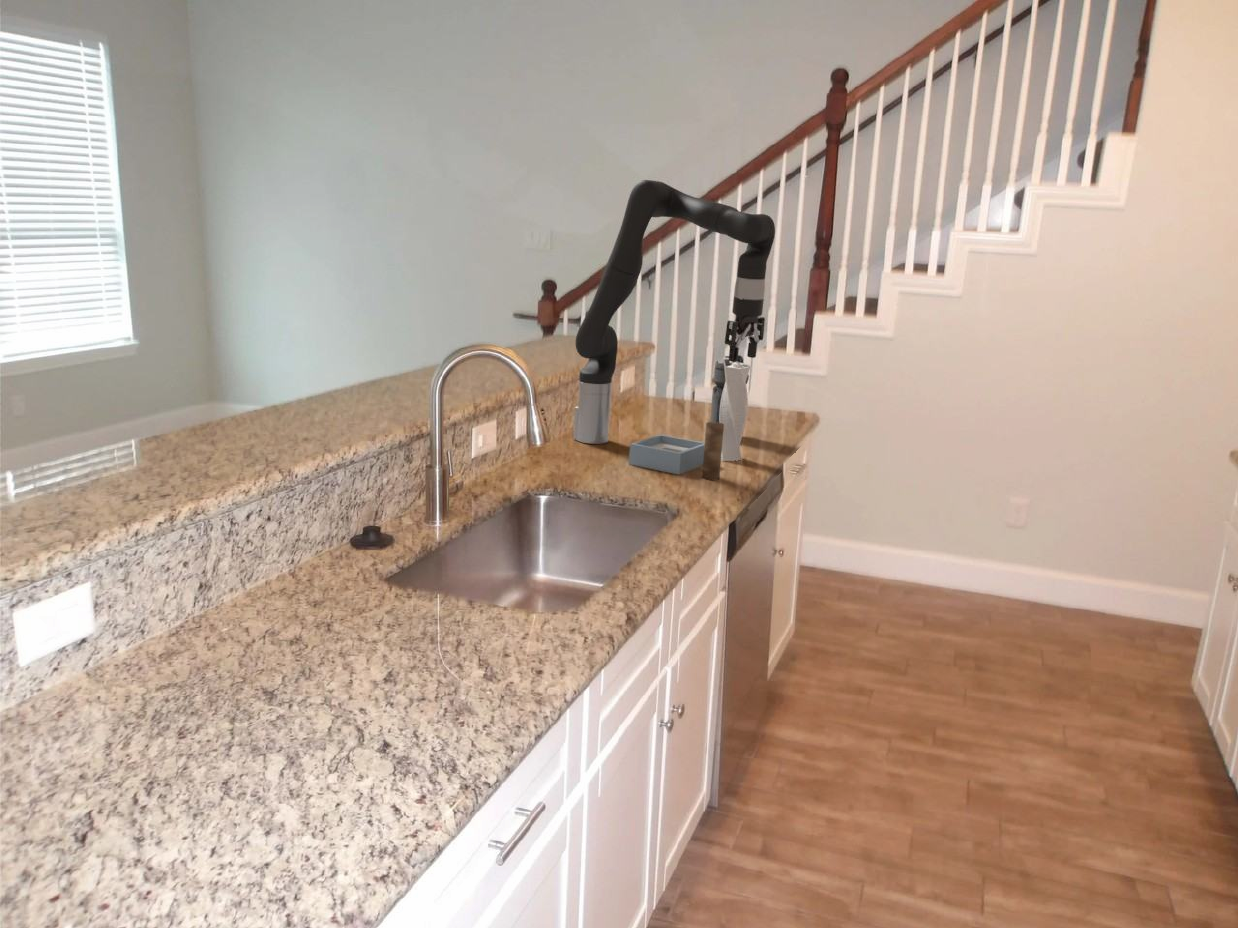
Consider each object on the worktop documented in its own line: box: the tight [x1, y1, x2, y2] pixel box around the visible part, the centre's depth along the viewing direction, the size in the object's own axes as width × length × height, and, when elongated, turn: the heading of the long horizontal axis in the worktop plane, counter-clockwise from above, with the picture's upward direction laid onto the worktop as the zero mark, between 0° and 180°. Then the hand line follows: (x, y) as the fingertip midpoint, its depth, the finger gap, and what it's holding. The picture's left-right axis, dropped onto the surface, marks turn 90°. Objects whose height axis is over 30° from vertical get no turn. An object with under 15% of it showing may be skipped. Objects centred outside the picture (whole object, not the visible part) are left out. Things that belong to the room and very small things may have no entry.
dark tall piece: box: [709, 354, 750, 423], centre depth 293 cm, size 10×13×25 cm
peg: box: [701, 421, 724, 481], centre depth 245 cm, size 4×4×14 cm
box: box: [628, 434, 705, 476], centre depth 258 cm, size 15×16×6 cm
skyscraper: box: [719, 357, 751, 462], centre depth 264 cm, size 8×8×28 cm
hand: (742, 359), depth 249 cm, fingers open, 8 cm apart
